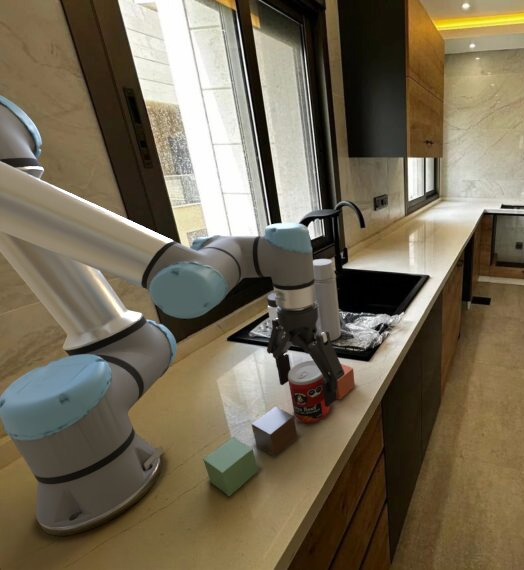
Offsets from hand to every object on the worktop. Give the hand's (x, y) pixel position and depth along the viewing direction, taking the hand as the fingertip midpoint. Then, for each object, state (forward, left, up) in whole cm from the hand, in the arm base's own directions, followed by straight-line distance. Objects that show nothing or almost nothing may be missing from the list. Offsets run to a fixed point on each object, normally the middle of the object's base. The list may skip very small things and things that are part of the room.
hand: (307, 391), depth 72 cm
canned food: (0, 0, -6) cm, 6 cm away
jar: (-37, +24, -6) cm, 44 cm away
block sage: (0, -18, -6) cm, 19 cm away
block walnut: (0, -9, -6) cm, 11 cm away
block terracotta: (0, +9, -6) cm, 10 cm away
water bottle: (-20, +26, -6) cm, 33 cm away
